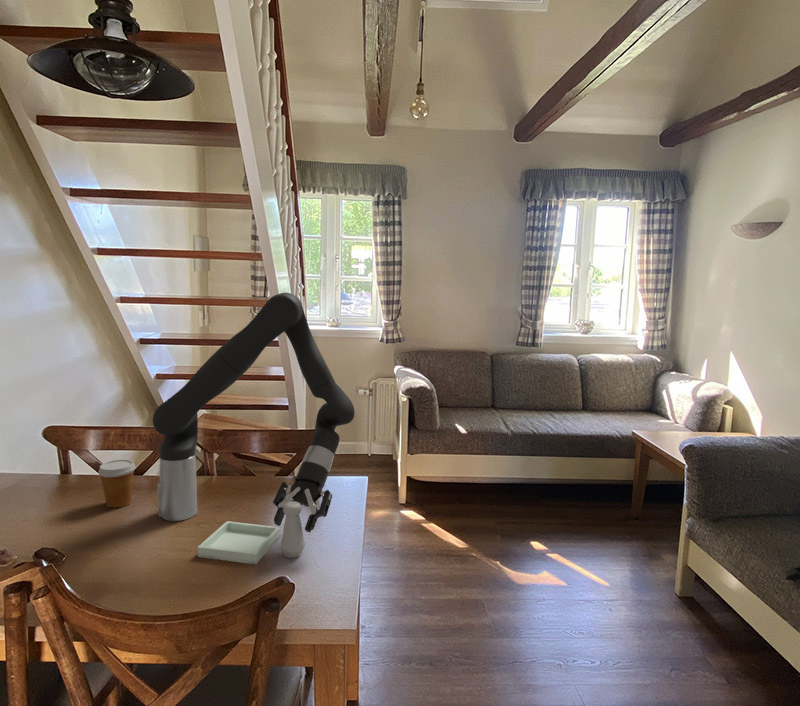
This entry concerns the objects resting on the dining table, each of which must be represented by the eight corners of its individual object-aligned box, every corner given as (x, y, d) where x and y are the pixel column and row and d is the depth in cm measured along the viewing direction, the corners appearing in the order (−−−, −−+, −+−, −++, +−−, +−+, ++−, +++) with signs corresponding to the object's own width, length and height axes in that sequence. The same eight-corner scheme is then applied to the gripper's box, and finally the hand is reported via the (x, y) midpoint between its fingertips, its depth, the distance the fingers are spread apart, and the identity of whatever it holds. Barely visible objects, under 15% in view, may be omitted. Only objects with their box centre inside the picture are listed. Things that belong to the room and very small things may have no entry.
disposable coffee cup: (112, 513, 149) (109, 472, 147) (93, 505, 154) (91, 465, 152) (143, 502, 157) (142, 463, 155) (125, 494, 162) (123, 456, 160)
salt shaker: (309, 550, 132) (309, 500, 130) (297, 561, 126) (297, 510, 124) (288, 546, 133) (288, 497, 132) (276, 557, 128) (275, 506, 126)
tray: (197, 556, 127) (197, 547, 127) (227, 529, 141) (227, 521, 141) (256, 564, 125) (255, 554, 124) (280, 536, 138) (280, 527, 138)
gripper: (286, 456, 137) (260, 516, 128) (335, 464, 132) (312, 527, 123) (297, 469, 143) (273, 528, 134) (344, 477, 138) (323, 538, 129)
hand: (292, 527), depth 128 cm, fingers open, 8 cm apart
